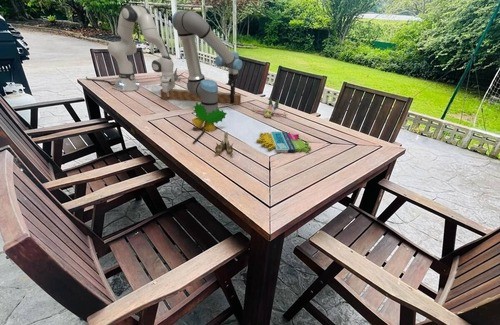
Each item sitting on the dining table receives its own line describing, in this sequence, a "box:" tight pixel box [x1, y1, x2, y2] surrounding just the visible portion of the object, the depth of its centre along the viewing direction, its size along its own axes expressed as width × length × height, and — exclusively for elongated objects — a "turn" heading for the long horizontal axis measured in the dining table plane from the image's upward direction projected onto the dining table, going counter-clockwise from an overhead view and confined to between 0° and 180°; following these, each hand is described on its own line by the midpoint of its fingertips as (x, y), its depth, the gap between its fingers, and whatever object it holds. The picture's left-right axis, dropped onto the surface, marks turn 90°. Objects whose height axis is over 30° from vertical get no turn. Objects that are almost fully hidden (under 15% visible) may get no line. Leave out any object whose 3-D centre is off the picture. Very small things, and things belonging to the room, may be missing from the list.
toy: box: [250, 97, 288, 118], centre depth 199 cm, size 28×7×30 cm
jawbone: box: [214, 131, 234, 156], centre depth 136 cm, size 9×15×10 cm
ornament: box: [191, 101, 228, 132], centre depth 162 cm, size 21×8×15 cm, turn 105°
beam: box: [159, 88, 242, 106], centre depth 214 cm, size 65×5×7 cm, turn 87°
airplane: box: [156, 67, 188, 87], centre depth 264 cm, size 38×31×10 cm
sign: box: [256, 131, 312, 154], centre depth 152 cm, size 26×2×30 cm
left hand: (169, 95), depth 214 cm, fingers closed on beam, 5 cm apart
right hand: (232, 102), depth 215 cm, fingers closed on beam, 5 cm apart
